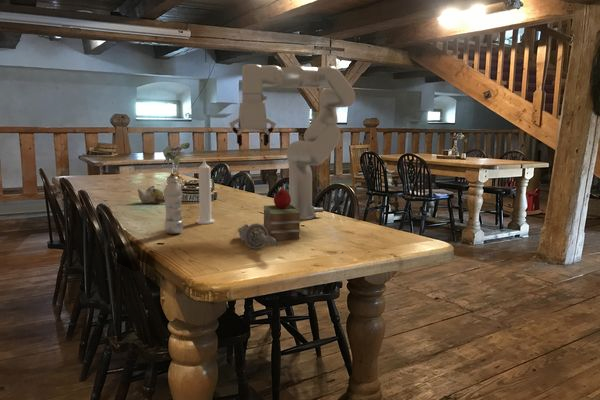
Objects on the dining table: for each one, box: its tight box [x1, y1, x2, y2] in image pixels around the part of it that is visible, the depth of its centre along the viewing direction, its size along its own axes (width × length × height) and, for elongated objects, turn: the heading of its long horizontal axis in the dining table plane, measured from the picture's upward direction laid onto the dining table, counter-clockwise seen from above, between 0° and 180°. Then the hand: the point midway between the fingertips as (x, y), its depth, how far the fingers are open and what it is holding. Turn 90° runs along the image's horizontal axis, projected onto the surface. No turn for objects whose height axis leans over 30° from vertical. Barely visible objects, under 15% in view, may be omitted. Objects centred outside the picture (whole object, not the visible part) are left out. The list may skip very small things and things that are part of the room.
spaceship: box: [237, 222, 278, 250], centre depth 154 cm, size 8×35×8 cm
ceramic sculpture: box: [137, 185, 165, 204], centre depth 241 cm, size 11×9×15 cm
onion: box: [273, 186, 291, 210], centre depth 170 cm, size 6×6×8 cm
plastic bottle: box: [162, 176, 184, 235], centre depth 174 cm, size 6×7×20 cm
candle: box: [196, 158, 216, 225], centre depth 193 cm, size 7×7×25 cm
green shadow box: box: [263, 204, 301, 241], centre depth 170 cm, size 10×11×10 cm
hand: (252, 145), depth 186 cm, fingers open, 9 cm apart
